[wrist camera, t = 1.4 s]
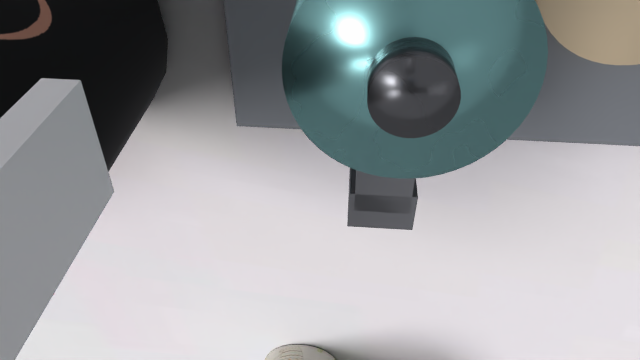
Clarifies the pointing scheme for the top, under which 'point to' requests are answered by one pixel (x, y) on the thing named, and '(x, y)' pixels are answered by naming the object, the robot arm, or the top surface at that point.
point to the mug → (298, 353)
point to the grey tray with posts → (539, 125)
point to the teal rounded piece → (412, 79)
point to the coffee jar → (87, 57)
